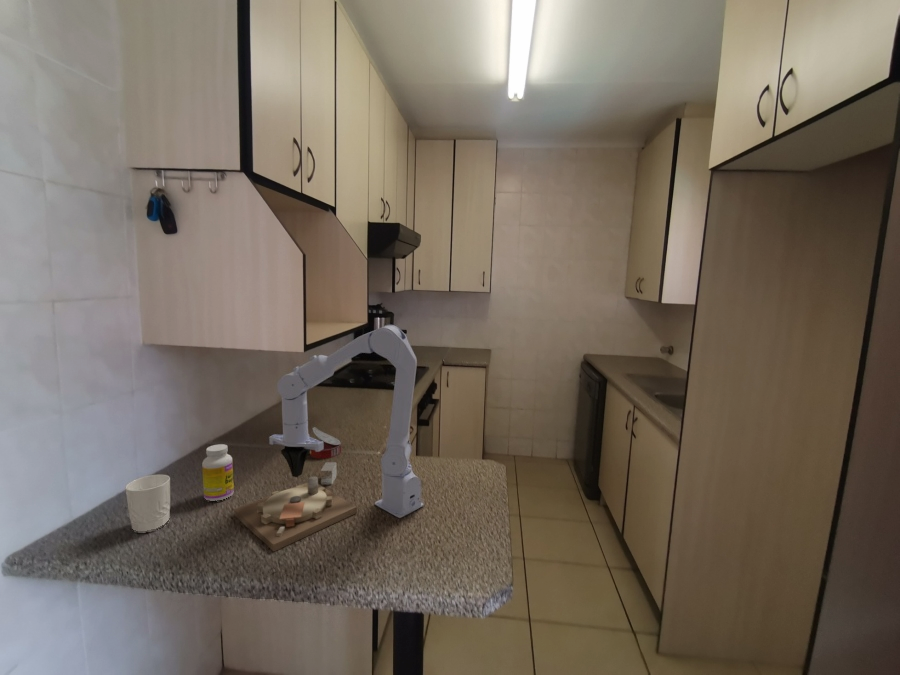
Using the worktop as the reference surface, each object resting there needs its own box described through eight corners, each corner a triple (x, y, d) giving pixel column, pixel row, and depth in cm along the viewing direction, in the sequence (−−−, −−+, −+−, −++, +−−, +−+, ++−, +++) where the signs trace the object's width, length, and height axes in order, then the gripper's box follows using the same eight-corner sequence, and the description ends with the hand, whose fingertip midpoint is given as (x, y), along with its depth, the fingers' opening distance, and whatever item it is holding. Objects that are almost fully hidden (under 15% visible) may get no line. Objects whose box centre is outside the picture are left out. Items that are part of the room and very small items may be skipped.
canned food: (320, 461, 138) (326, 431, 142) (345, 462, 135) (350, 431, 138) (297, 457, 129) (304, 424, 132) (324, 458, 125) (330, 425, 129)
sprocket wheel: (329, 522, 90) (329, 500, 90) (248, 530, 87) (247, 508, 86) (334, 487, 106) (333, 469, 106) (265, 493, 103) (265, 474, 102)
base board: (356, 512, 98) (356, 504, 97) (273, 551, 83) (273, 541, 82) (312, 485, 111) (312, 478, 111) (234, 515, 96) (233, 506, 96)
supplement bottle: (228, 502, 102) (226, 451, 100) (199, 504, 101) (196, 453, 99) (237, 489, 108) (235, 442, 107) (210, 491, 107) (207, 443, 106)
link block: (325, 475, 117) (325, 462, 117) (336, 475, 117) (336, 462, 117) (321, 484, 112) (320, 470, 111) (332, 484, 112) (332, 470, 111)
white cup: (179, 514, 96) (176, 473, 95) (161, 533, 88) (158, 489, 87) (141, 517, 95) (138, 475, 94) (120, 537, 87) (116, 492, 86)
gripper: (330, 419, 101) (332, 472, 103) (282, 413, 106) (284, 464, 107) (312, 428, 95) (313, 485, 96) (262, 421, 99) (264, 475, 101)
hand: (297, 475), depth 101 cm, fingers closed
